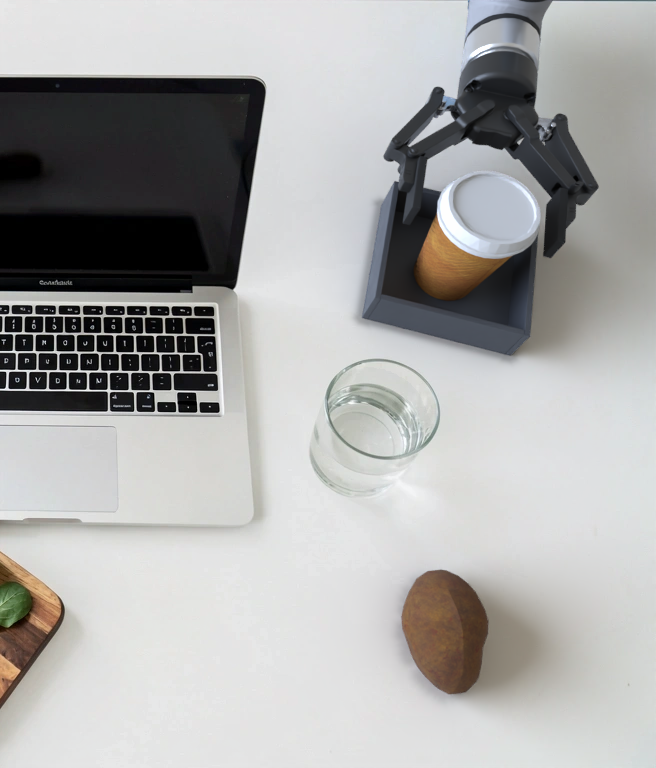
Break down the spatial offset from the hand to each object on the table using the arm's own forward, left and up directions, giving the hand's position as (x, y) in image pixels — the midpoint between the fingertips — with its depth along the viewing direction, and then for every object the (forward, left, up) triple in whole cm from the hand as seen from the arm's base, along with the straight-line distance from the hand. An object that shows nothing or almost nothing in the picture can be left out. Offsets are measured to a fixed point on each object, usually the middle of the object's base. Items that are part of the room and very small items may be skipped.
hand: (482, 233), depth 87 cm
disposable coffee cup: (0, -1, -9) cm, 9 cm away
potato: (-3, +37, -10) cm, 39 cm away
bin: (0, -1, -10) cm, 10 cm away
